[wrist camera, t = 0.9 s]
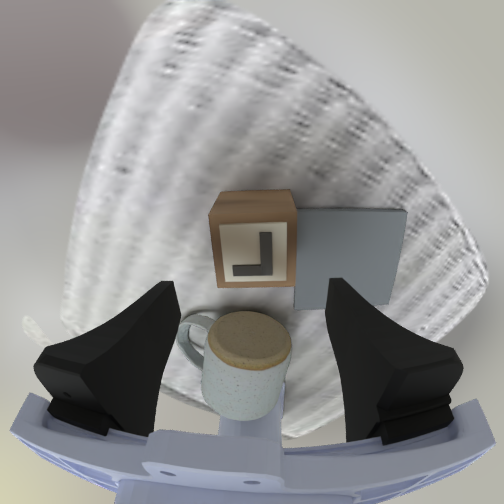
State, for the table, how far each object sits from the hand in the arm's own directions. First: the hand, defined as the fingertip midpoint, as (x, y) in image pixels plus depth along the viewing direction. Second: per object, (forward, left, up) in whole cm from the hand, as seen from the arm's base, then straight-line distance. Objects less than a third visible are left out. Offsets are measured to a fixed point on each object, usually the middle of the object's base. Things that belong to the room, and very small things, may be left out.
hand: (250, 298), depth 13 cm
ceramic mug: (-12, +3, -10) cm, 16 cm away
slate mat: (-4, -7, -9) cm, 13 cm away
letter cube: (0, 0, -10) cm, 10 cm away
